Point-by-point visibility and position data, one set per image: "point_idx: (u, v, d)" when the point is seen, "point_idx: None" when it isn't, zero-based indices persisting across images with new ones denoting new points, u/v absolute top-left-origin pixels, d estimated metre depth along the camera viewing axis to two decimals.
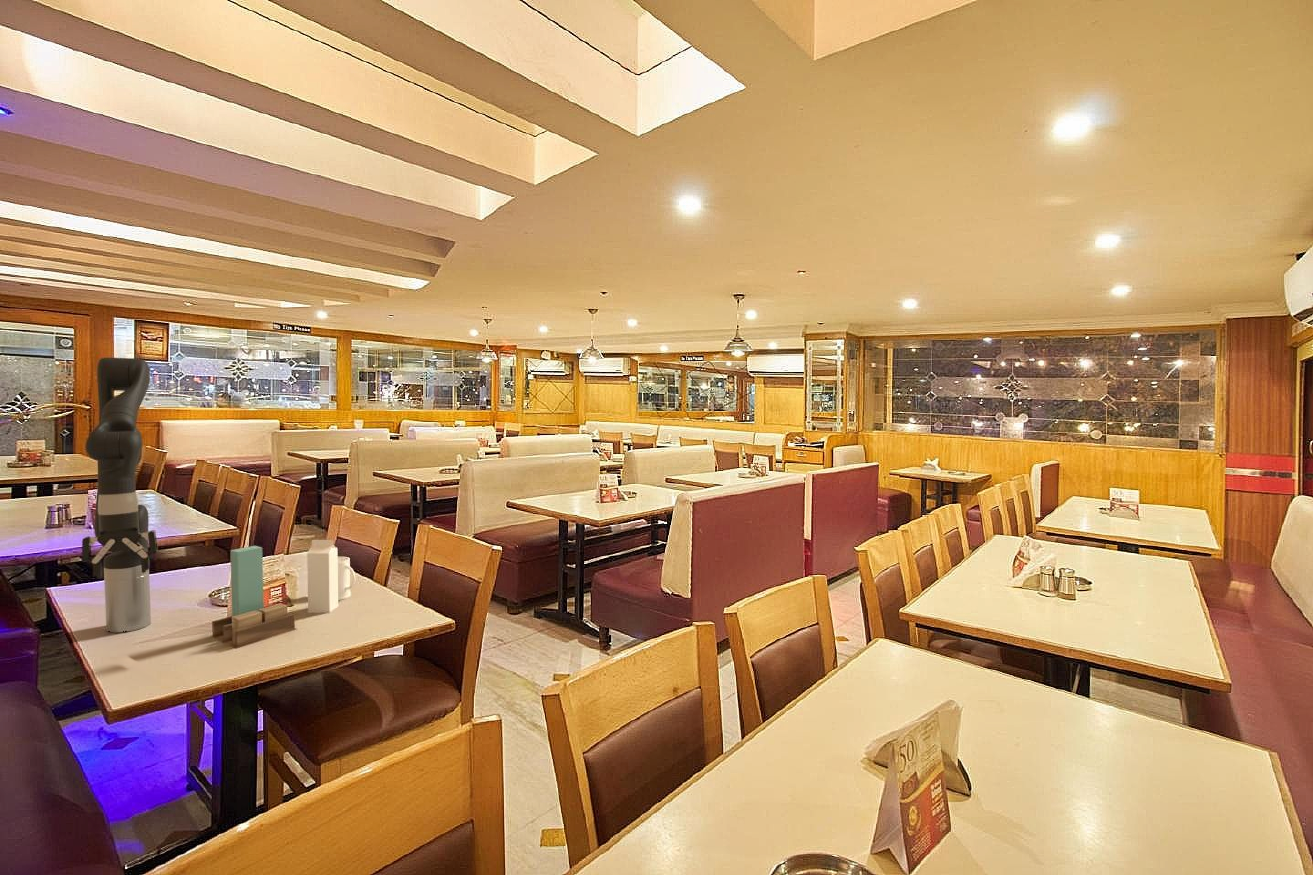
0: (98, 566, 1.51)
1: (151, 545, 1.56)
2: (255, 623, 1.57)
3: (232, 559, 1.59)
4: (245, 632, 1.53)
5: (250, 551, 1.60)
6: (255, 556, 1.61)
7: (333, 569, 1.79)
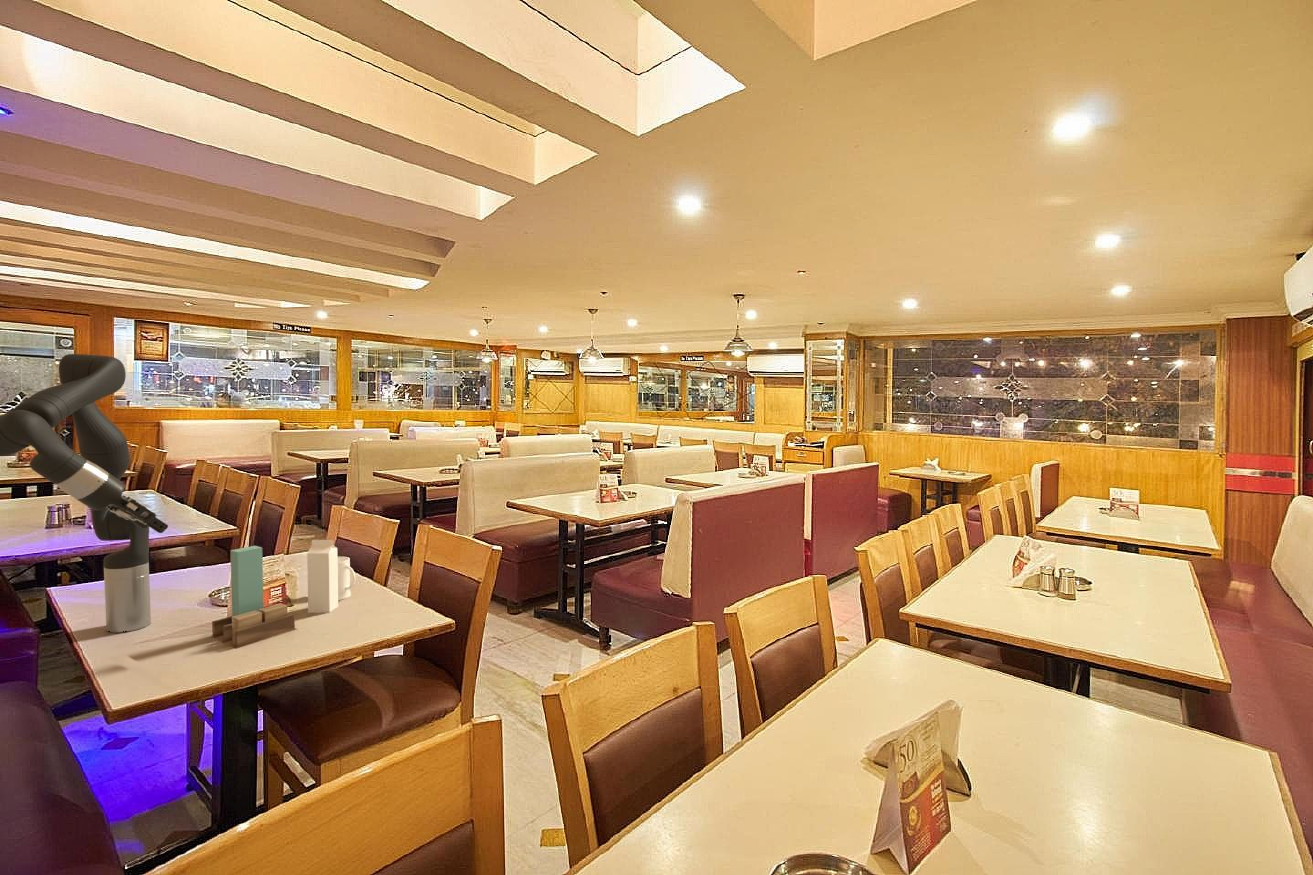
0: (132, 521, 1.43)
1: (137, 517, 1.35)
2: (255, 623, 1.57)
3: (232, 559, 1.59)
4: (245, 632, 1.53)
5: (250, 551, 1.60)
6: (255, 556, 1.61)
7: (333, 569, 1.79)
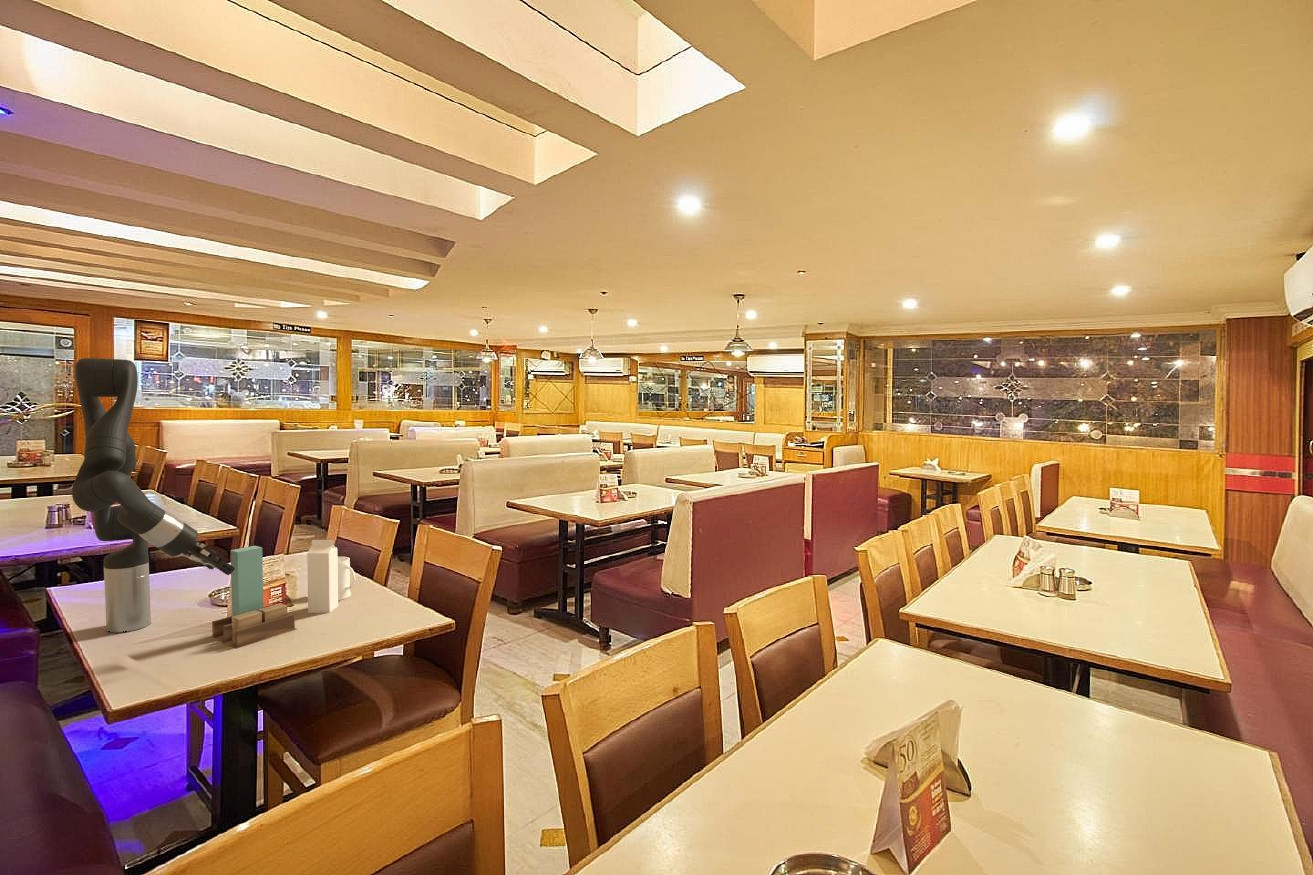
0: (201, 563, 1.56)
1: (209, 562, 1.48)
2: (255, 623, 1.57)
3: (232, 559, 1.59)
4: (245, 632, 1.53)
5: (250, 551, 1.60)
6: (255, 556, 1.61)
7: (333, 569, 1.79)
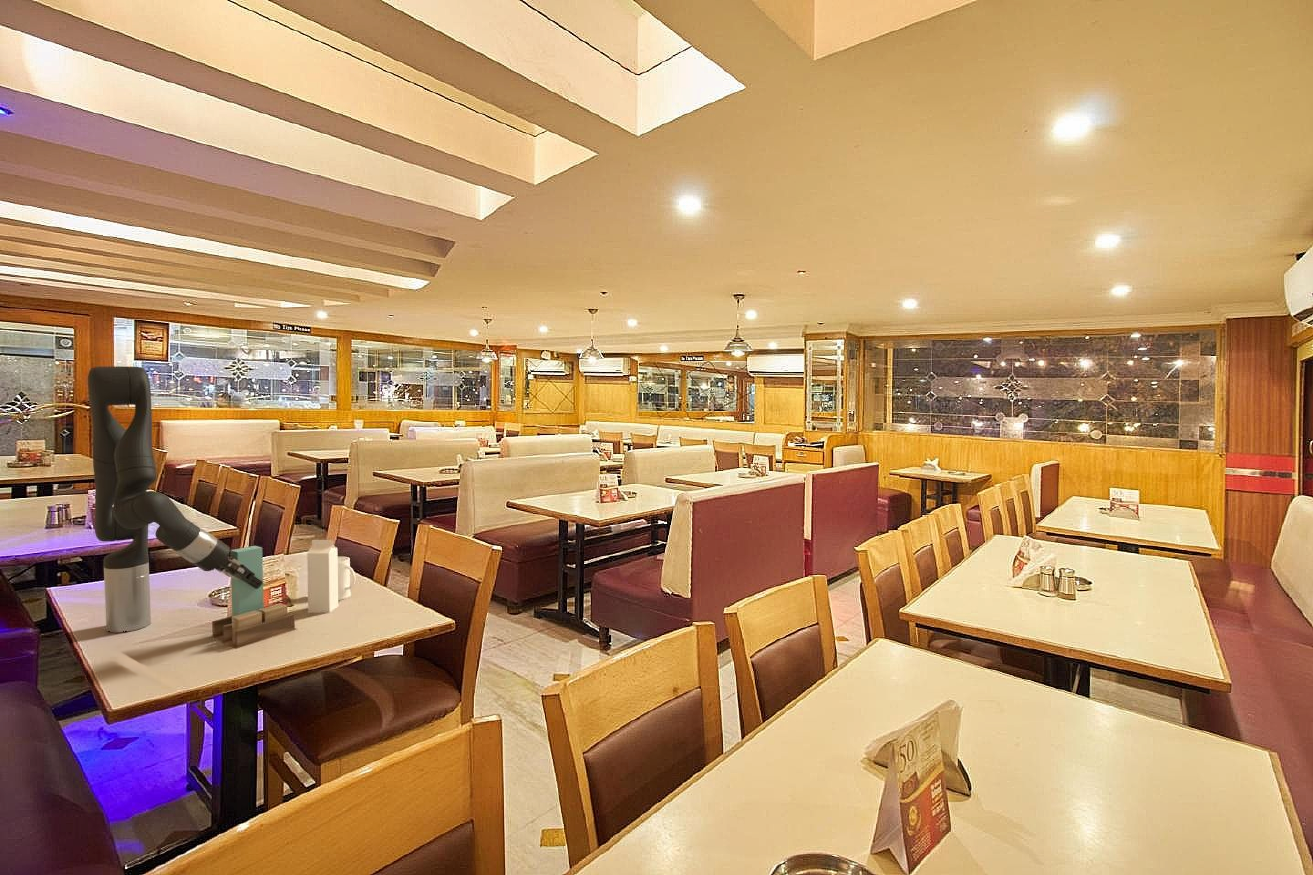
0: None
1: (241, 578, 1.56)
2: (255, 623, 1.57)
3: None
4: (245, 632, 1.53)
5: (250, 551, 1.60)
6: (255, 556, 1.61)
7: (333, 569, 1.79)
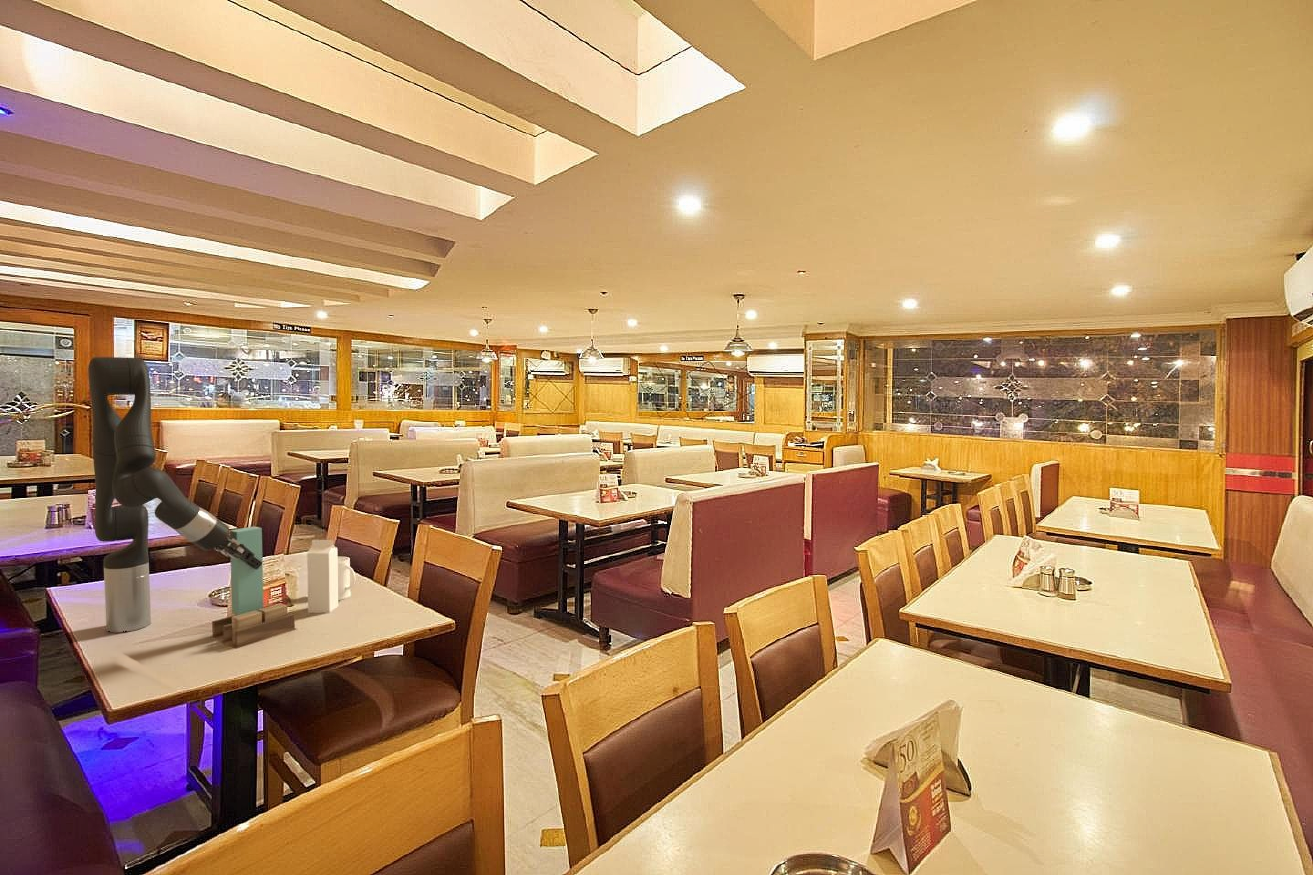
0: None
1: (241, 557, 1.55)
2: (255, 623, 1.57)
3: None
4: (245, 632, 1.53)
5: (250, 531, 1.59)
6: (255, 537, 1.61)
7: (333, 569, 1.79)
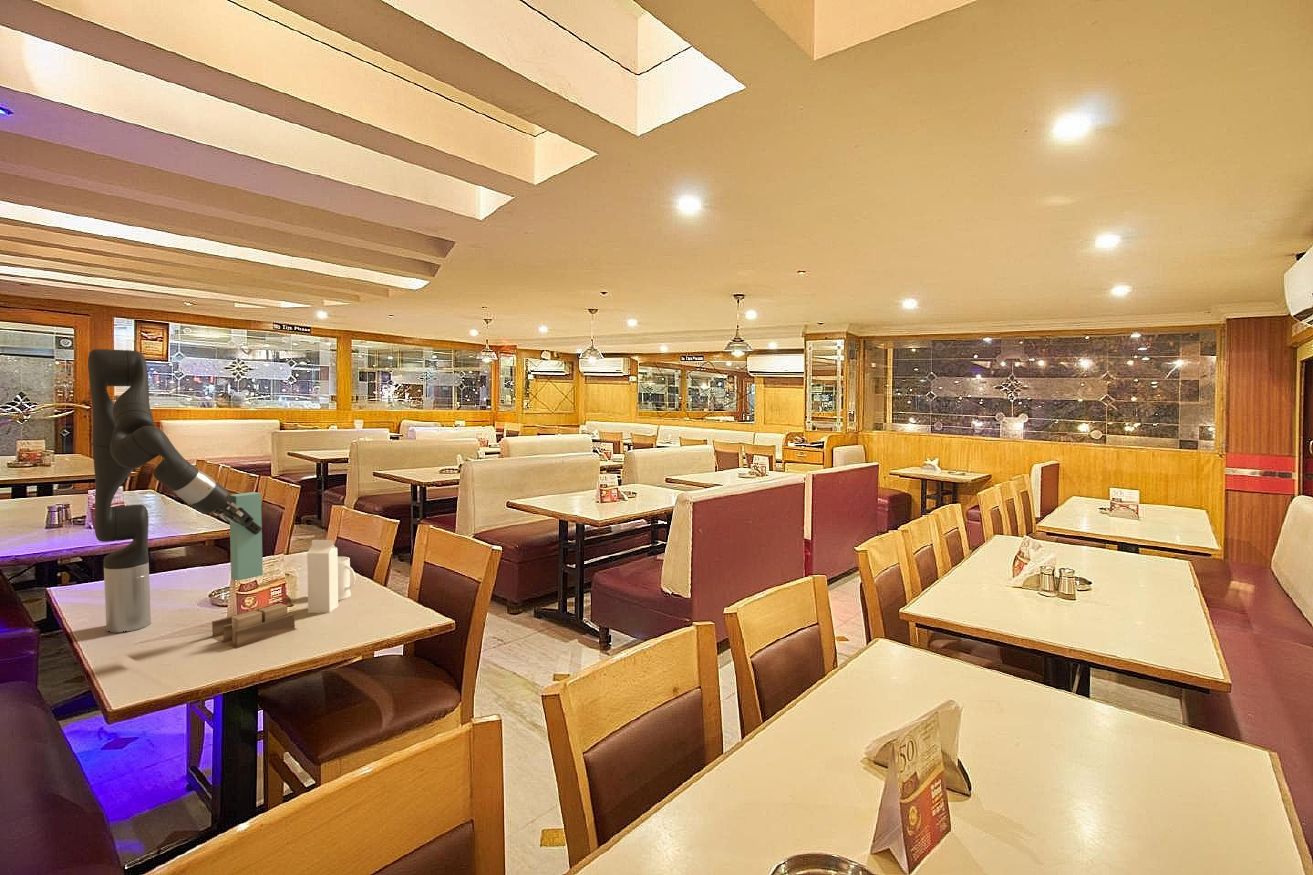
0: None
1: (240, 521, 1.54)
2: (255, 623, 1.57)
3: None
4: (245, 632, 1.53)
5: (249, 496, 1.59)
6: (254, 502, 1.60)
7: (333, 569, 1.79)
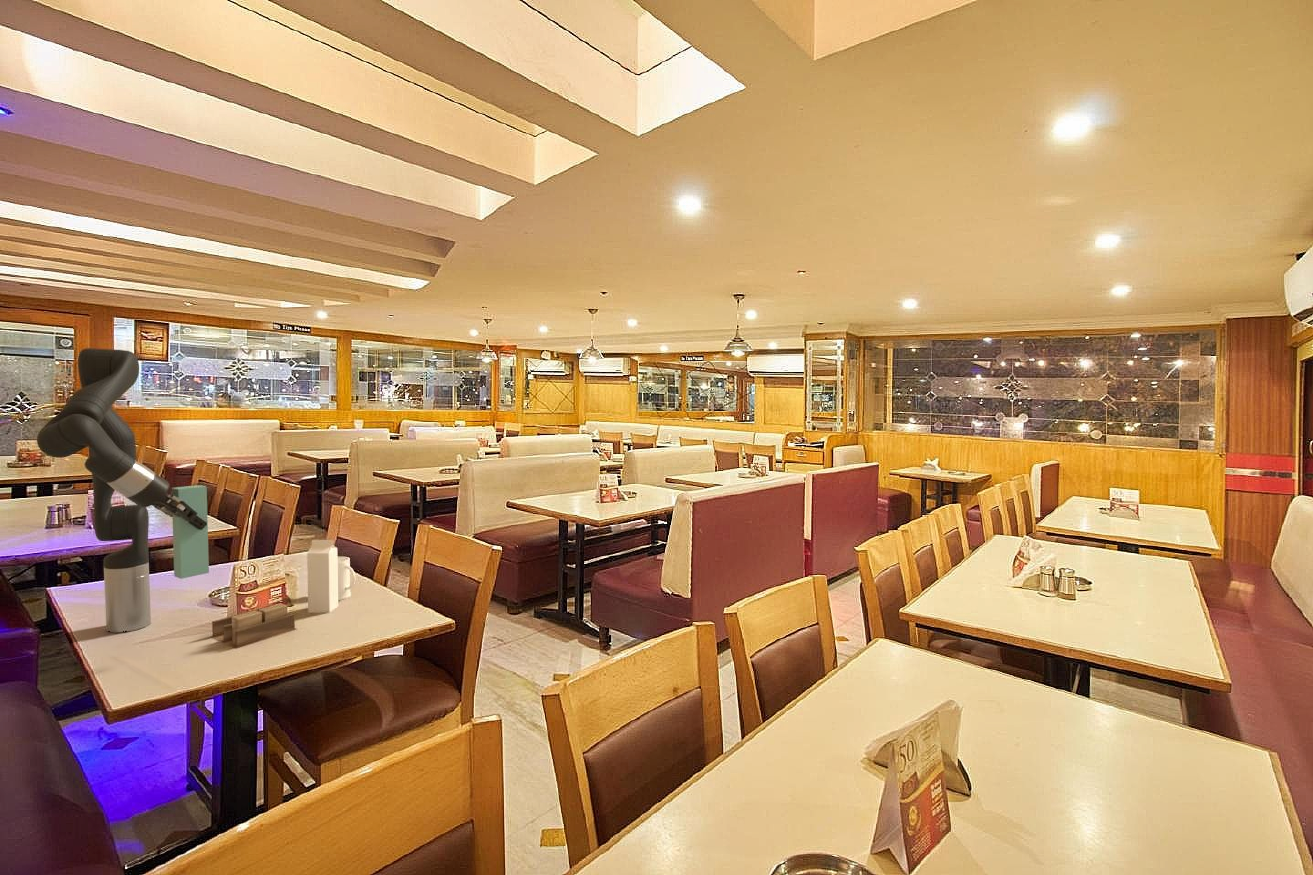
0: None
1: (182, 516, 1.46)
2: (255, 623, 1.57)
3: None
4: (245, 632, 1.53)
5: (193, 489, 1.50)
6: (199, 495, 1.52)
7: (333, 569, 1.79)
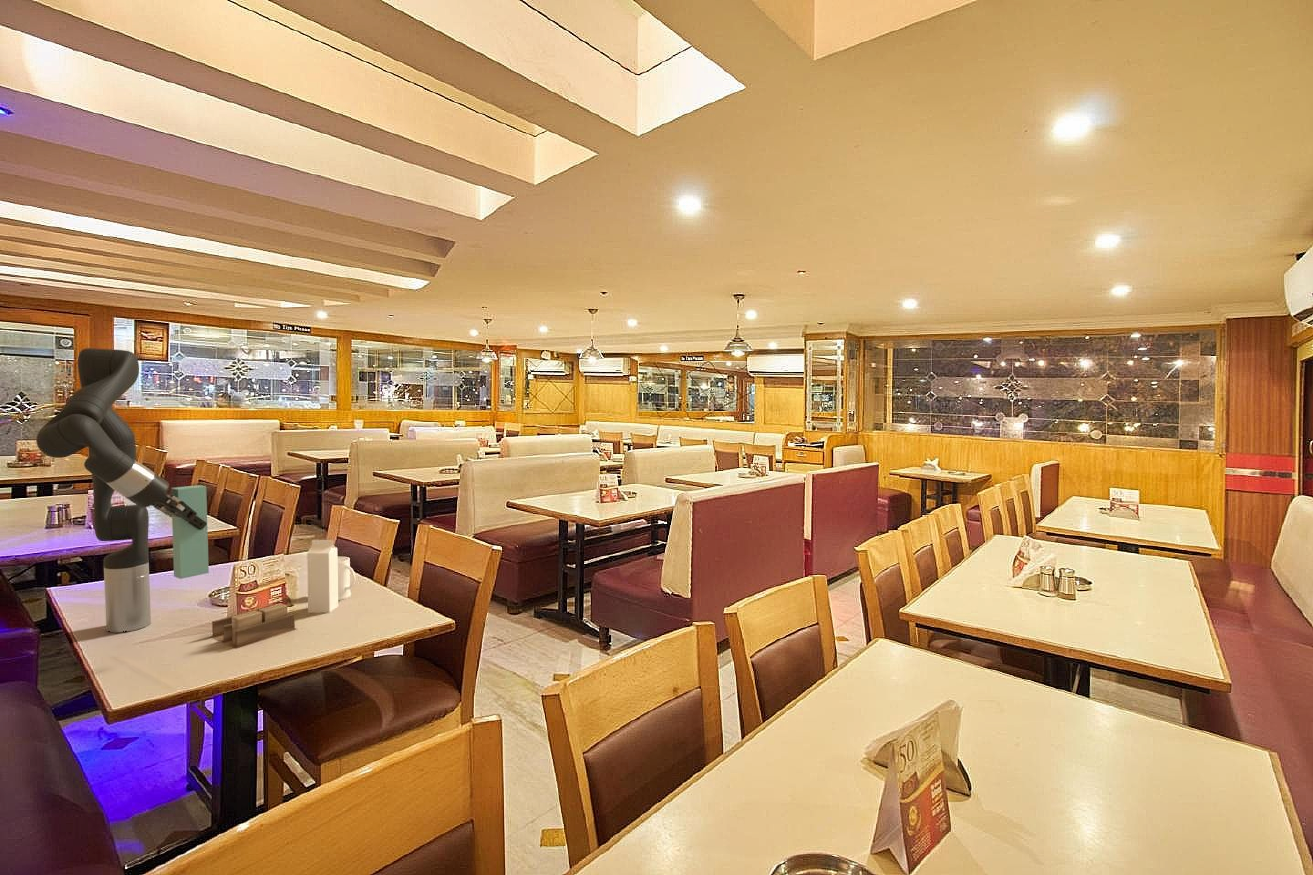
0: None
1: (181, 516, 1.46)
2: (255, 623, 1.57)
3: None
4: (245, 632, 1.53)
5: (192, 489, 1.50)
6: (199, 495, 1.51)
7: (333, 569, 1.79)
